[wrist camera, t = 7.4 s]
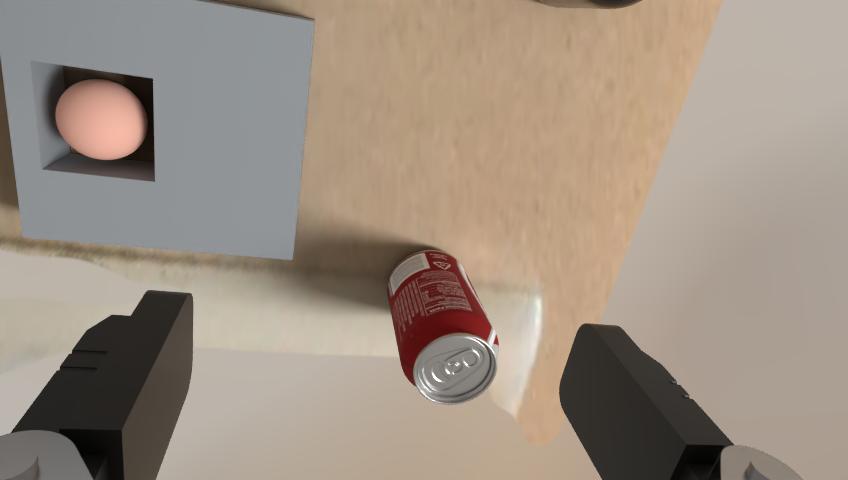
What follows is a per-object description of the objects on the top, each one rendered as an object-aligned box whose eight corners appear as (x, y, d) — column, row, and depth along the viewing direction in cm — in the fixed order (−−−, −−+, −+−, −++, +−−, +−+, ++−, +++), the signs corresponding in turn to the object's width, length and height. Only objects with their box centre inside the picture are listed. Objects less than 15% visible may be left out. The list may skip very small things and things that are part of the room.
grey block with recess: (27, -33, 32) (-12, -37, 28) (315, 19, 36) (313, 21, 32) (51, 214, 38) (22, 237, 34) (296, 237, 42) (292, 260, 38)
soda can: (372, 268, 44) (386, 356, 33) (446, 232, 43) (484, 309, 33) (407, 328, 47) (430, 427, 36) (476, 295, 46) (521, 384, 36)
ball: (87, 88, 30) (164, 86, 34) (32, 72, 32) (111, 71, 36) (94, 174, 32) (166, 162, 36) (41, 154, 33) (115, 144, 38)
